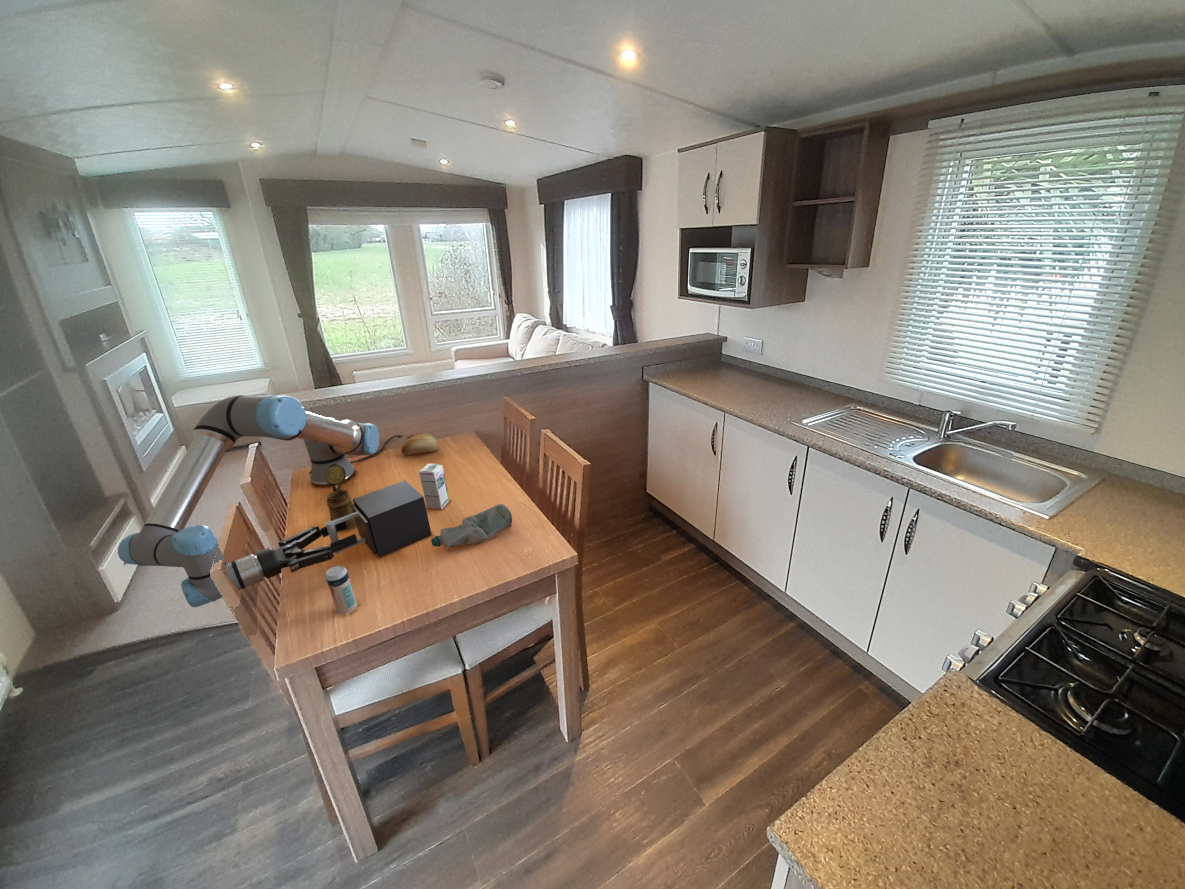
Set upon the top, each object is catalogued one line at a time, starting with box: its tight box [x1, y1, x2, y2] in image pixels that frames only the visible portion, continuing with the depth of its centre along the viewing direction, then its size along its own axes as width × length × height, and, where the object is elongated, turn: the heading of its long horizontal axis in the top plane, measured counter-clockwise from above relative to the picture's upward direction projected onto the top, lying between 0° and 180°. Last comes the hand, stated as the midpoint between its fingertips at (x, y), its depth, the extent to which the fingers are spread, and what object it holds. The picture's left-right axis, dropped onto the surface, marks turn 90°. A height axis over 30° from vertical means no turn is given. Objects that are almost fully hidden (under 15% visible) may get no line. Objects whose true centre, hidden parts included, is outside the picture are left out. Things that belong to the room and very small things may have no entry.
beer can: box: [324, 565, 358, 615], centre depth 117 cm, size 5×5×12 cm
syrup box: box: [418, 463, 450, 510], centre depth 160 cm, size 6×6×14 cm
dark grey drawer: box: [325, 503, 377, 556], centre depth 141 cm, size 24×13×12 cm, turn 131°
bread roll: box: [400, 432, 440, 456], centre depth 200 cm, size 10×15×8 cm, turn 112°
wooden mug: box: [325, 463, 357, 532], centre depth 153 cm, size 9×14×18 cm, turn 23°
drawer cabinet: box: [352, 480, 433, 559], centre depth 144 cm, size 16×14×14 cm
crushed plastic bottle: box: [430, 503, 513, 550], centre depth 144 cm, size 13×7×25 cm
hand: (350, 530), depth 137 cm, fingers open, 9 cm apart
